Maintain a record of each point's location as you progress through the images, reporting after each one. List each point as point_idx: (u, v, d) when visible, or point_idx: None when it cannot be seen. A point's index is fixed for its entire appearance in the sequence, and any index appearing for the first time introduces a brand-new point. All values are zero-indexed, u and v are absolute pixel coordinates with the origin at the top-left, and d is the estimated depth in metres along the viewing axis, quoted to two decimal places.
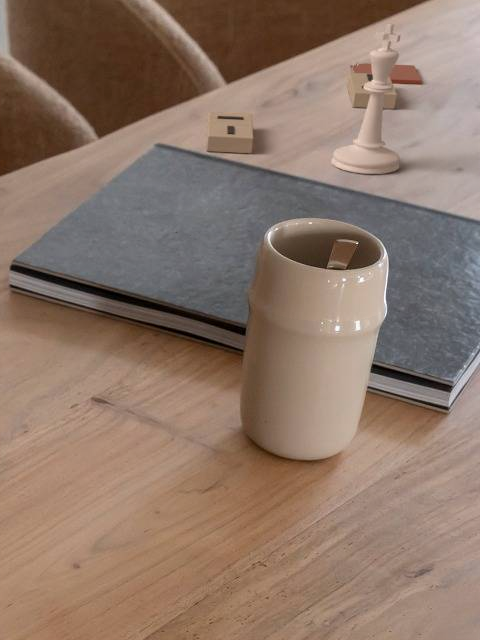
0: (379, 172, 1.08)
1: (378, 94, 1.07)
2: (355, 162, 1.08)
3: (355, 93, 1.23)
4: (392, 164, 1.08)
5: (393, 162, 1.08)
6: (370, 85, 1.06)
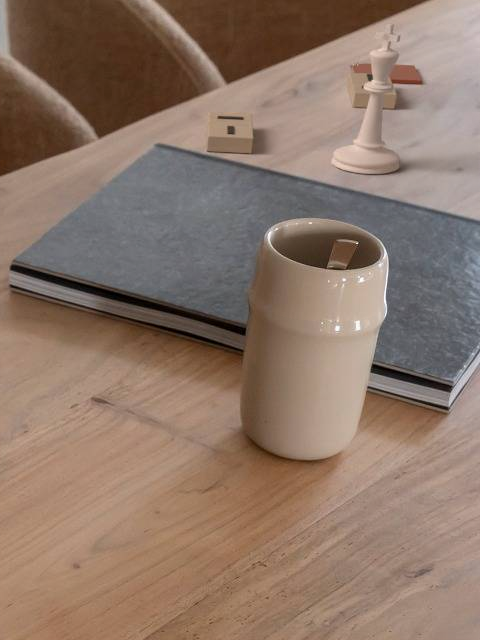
0: (379, 172, 1.08)
1: (378, 94, 1.07)
2: (355, 162, 1.08)
3: (355, 93, 1.23)
4: (392, 164, 1.08)
5: (393, 162, 1.08)
6: (370, 85, 1.06)
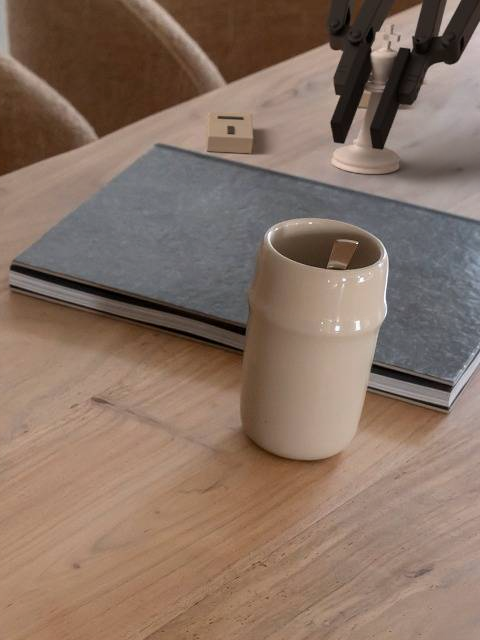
0: (379, 172, 1.08)
1: (378, 94, 1.07)
2: (355, 162, 1.08)
3: None
4: (392, 164, 1.08)
5: (393, 162, 1.08)
6: (370, 85, 1.06)
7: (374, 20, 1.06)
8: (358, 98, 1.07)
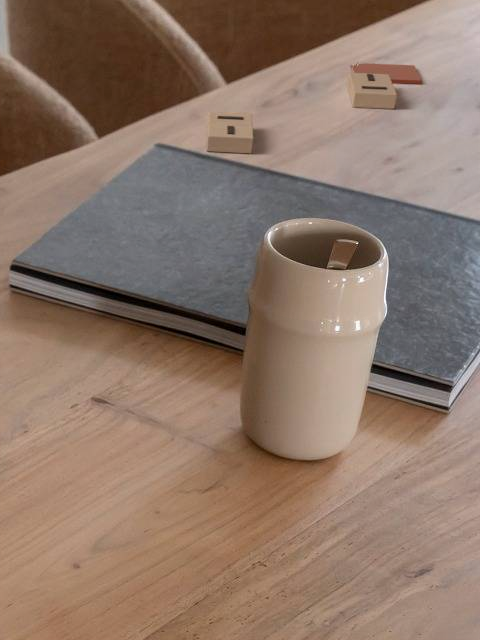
0: None
1: None
2: None
3: (355, 93, 1.23)
4: None
5: None
6: None
7: None
8: None
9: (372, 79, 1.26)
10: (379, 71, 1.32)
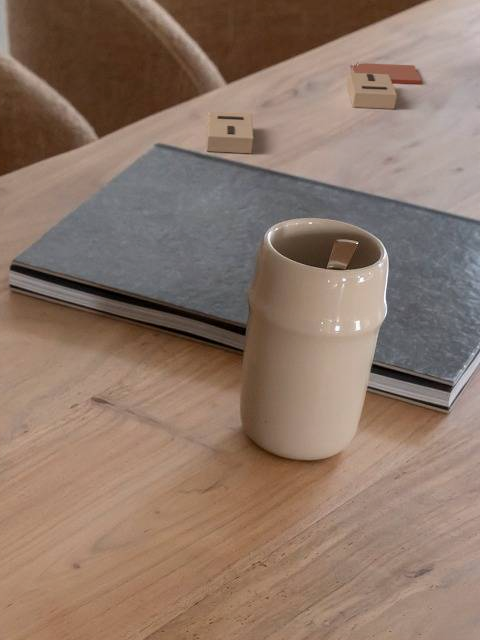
0: None
1: None
2: None
3: (355, 93, 1.23)
4: None
5: None
6: None
7: None
8: None
9: (372, 79, 1.26)
10: (379, 71, 1.32)
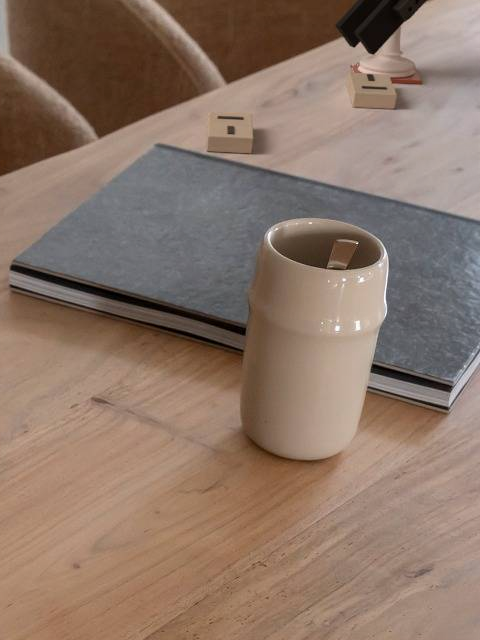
0: None
1: None
2: (364, 64, 1.31)
3: (355, 93, 1.23)
4: (394, 71, 1.30)
5: (395, 69, 1.30)
6: None
7: None
8: None
9: (372, 79, 1.26)
10: None
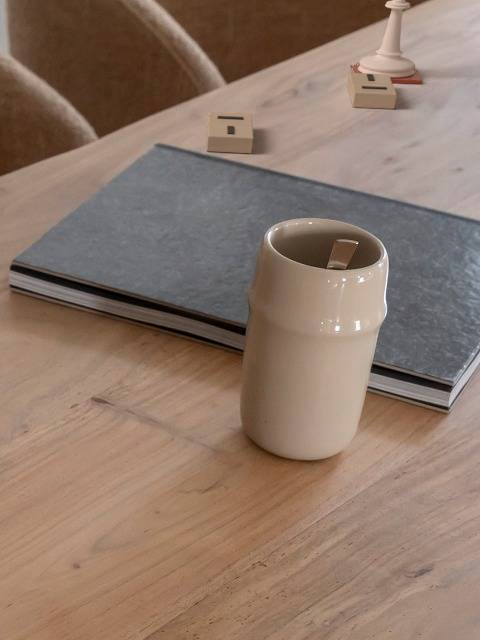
0: None
1: (394, 10, 1.29)
2: (364, 64, 1.31)
3: (355, 93, 1.23)
4: (394, 71, 1.30)
5: (395, 69, 1.30)
6: (388, 2, 1.29)
7: None
8: None
9: (372, 79, 1.26)
10: None
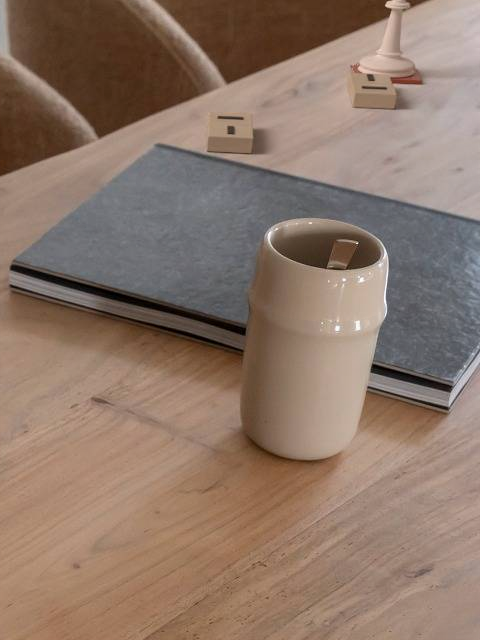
0: None
1: (394, 10, 1.29)
2: (364, 64, 1.31)
3: (355, 93, 1.23)
4: (394, 71, 1.30)
5: (395, 69, 1.30)
6: (388, 2, 1.29)
7: None
8: None
9: (372, 79, 1.26)
10: None
